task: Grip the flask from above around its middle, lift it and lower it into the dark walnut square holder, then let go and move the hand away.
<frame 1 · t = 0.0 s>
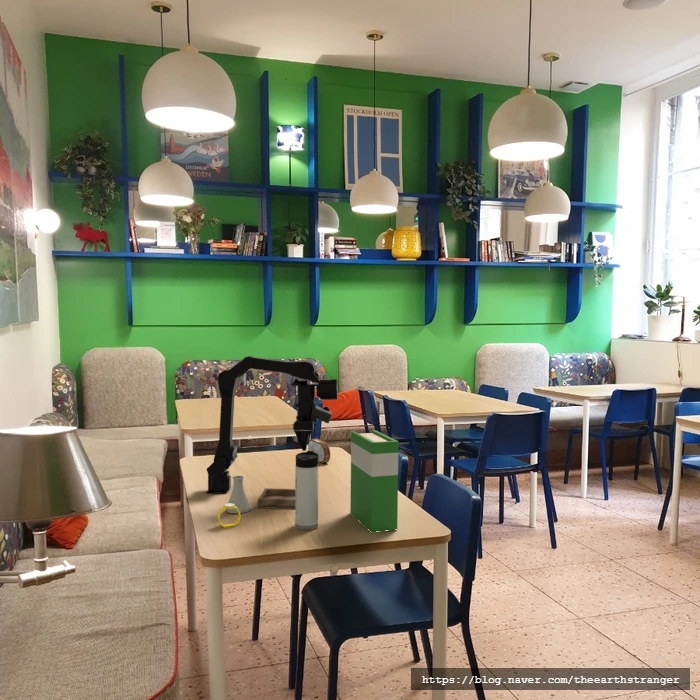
hand: (305, 447, 202), 15 cm above the table, tool pointing down, fingers open, 9 cm apart
travel mug: (306, 526, 169), on the table
hardback book: (372, 522, 174), on the table
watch: (229, 526, 169), on the table
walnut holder: (281, 501, 192), on the table
tin: (318, 461, 248), on the table
flask: (238, 511, 183), on the table
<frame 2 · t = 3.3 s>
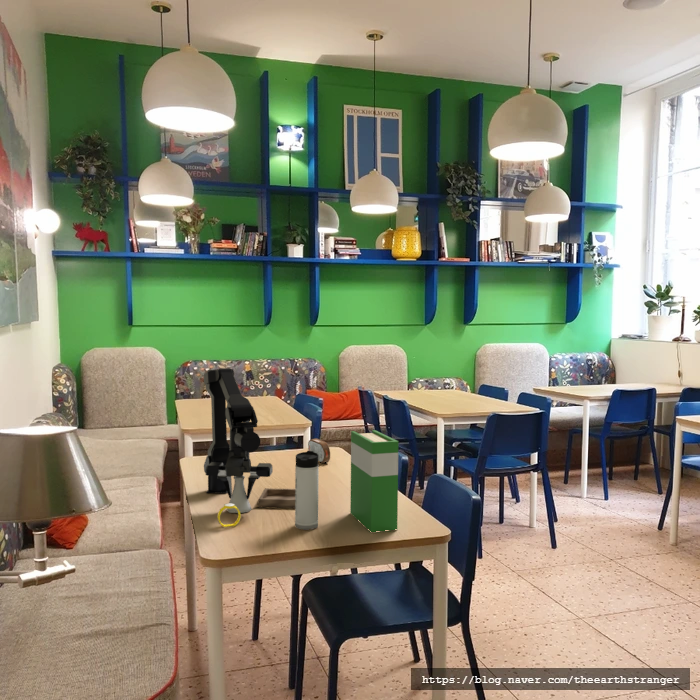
hand: (239, 498, 183), 3 cm above the table, tool pointing down, fingers closed on flask, 5 cm apart
flask: (239, 510, 183), on the table, touching gripper
everything else where it was.
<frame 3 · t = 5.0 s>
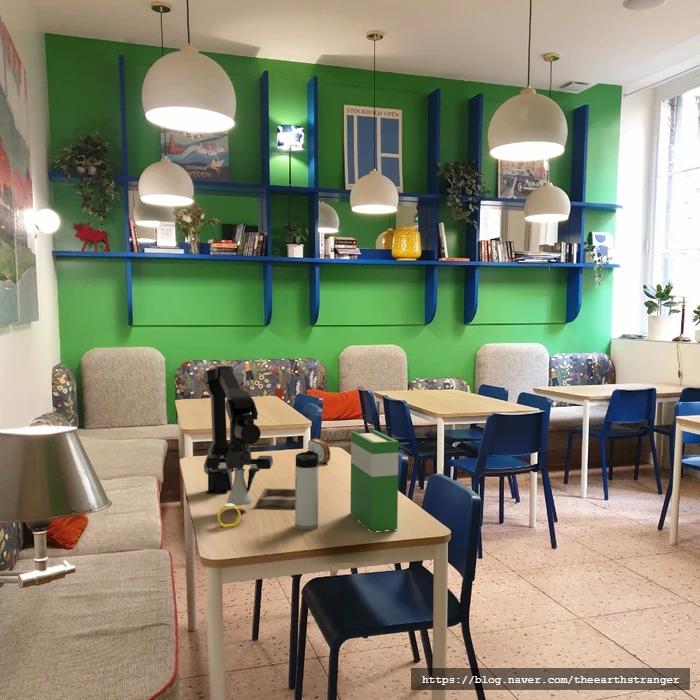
hand: (239, 490, 183), 6 cm above the table, tool pointing down, fingers closed on flask, 5 cm apart
flask: (239, 503, 183), point 2 cm above the table, touching gripper
everything else where it was.
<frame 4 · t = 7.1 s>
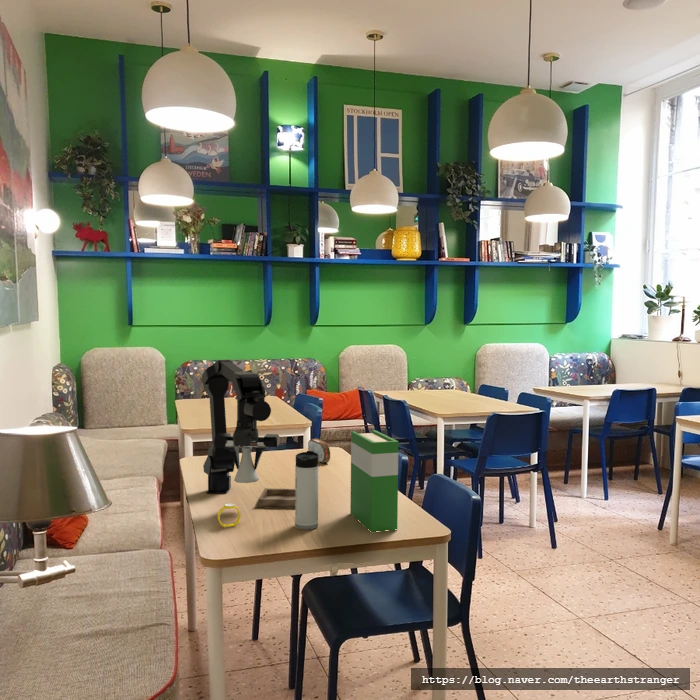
hand: (246, 468, 184), 12 cm above the table, tool pointing down, fingers closed on flask, 5 cm apart
flask: (246, 481, 184), point 8 cm above the table, touching gripper
everything else where it was.
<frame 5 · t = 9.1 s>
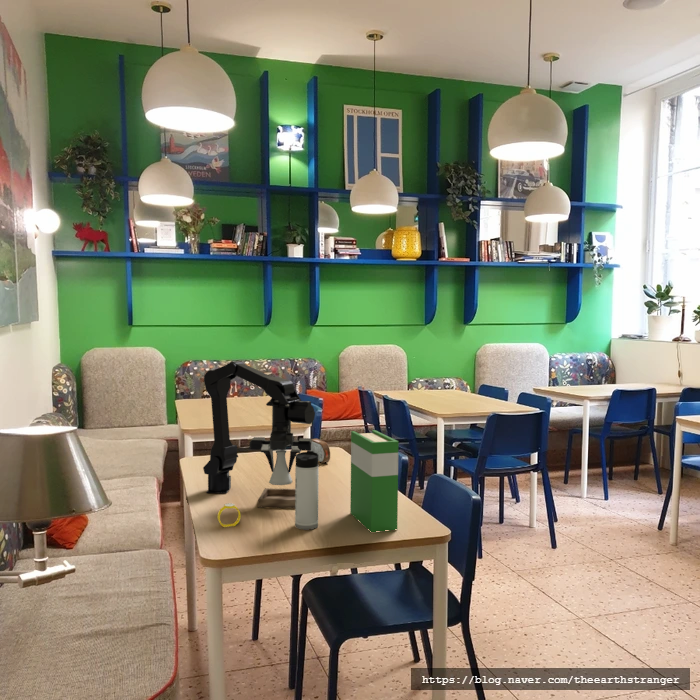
hand: (281, 471, 191), 9 cm above the table, tool pointing down, fingers closed on flask, 5 cm apart
flask: (280, 483, 191), point 6 cm above the table, touching gripper
everything else where it was.
when the fingers open (5 cm above the table, at t = 10.7 s): flask drops 1 cm, resting on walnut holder.
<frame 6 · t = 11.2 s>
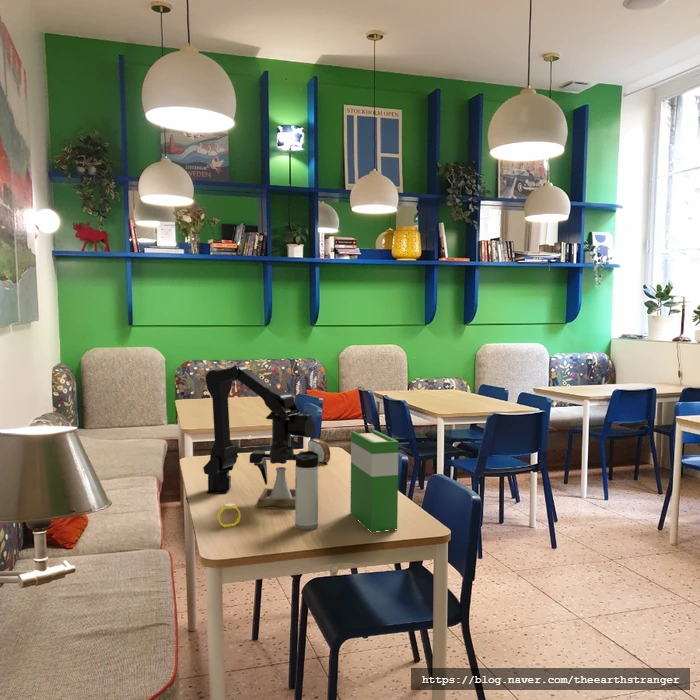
hand: (281, 484, 191), 5 cm above the table, tool pointing down, fingers open, 9 cm apart
flask: (280, 500, 192), resting on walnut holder
everything else where it was.
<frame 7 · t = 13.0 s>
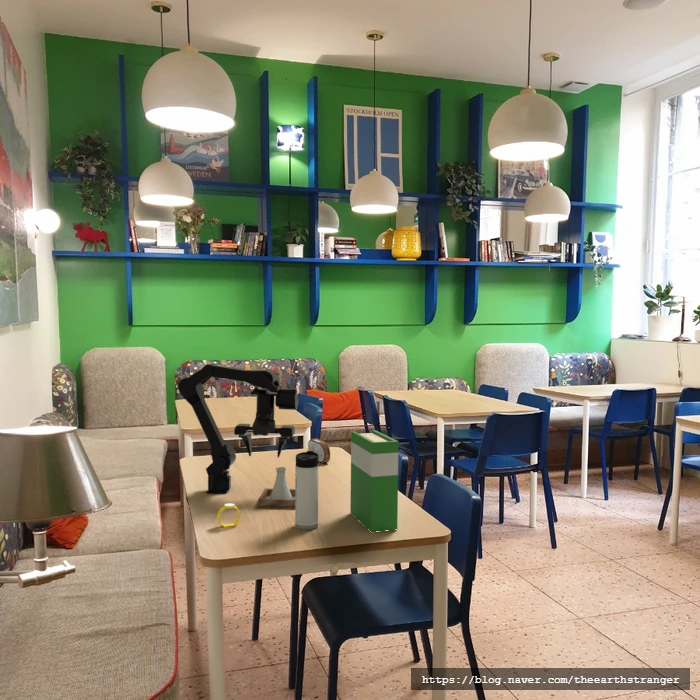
hand: (264, 456, 201), 12 cm above the table, tool pointing down, fingers open, 9 cm apart
nothing on the table moved.
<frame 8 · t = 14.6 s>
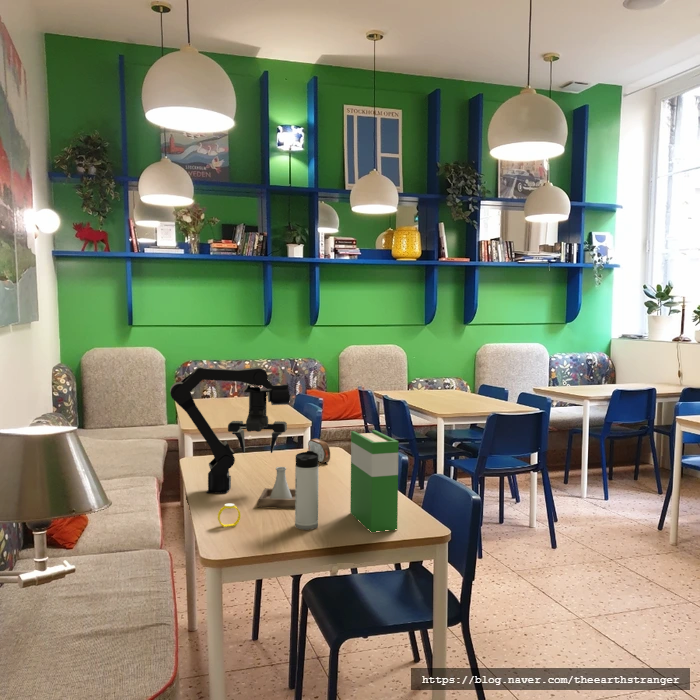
hand: (257, 452, 206), 12 cm above the table, tool pointing down, fingers open, 9 cm apart
nothing on the table moved.
at the end: flask 0.2 cm off-centre on the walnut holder, point 0.4 cm above the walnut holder's base; flask tilted 0°; the gripper is holding nothing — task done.
